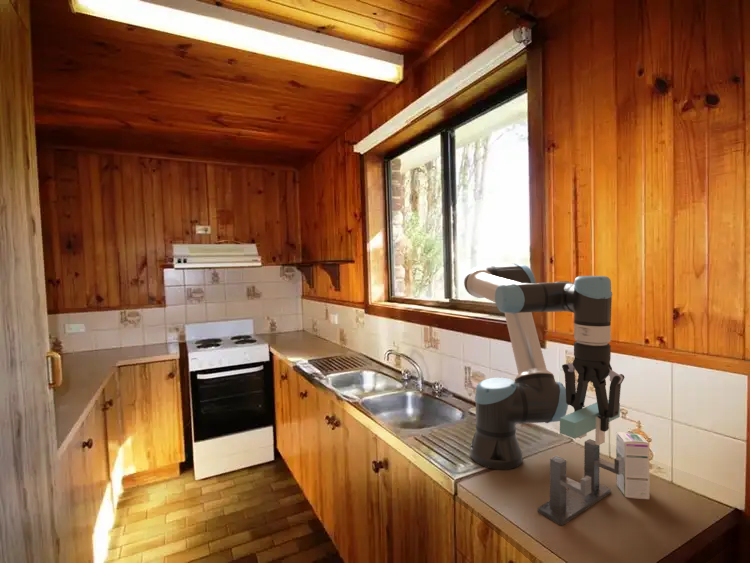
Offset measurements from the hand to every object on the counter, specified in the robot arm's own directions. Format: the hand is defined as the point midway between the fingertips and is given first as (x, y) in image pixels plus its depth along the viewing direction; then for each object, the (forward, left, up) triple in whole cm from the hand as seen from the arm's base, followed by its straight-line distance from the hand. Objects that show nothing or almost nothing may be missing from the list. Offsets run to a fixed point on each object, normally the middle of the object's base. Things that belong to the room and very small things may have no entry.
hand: (590, 439), depth 93 cm
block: (0, 0, +4) cm, 4 cm away
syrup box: (+2, +15, -17) cm, 23 cm away
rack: (-2, 0, -17) cm, 17 cm away
